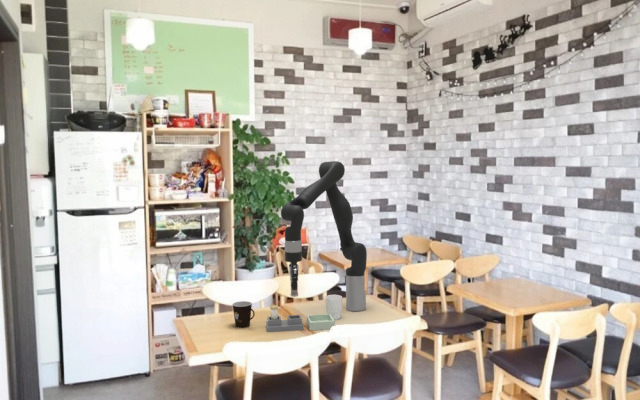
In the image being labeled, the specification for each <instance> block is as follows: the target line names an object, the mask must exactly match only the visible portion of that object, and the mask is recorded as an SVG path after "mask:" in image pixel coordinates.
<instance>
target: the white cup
mask: <svg viewBox="0 0 640 400" xmlns="http://www.w3.org/2000/svg"><path fill="white" fill-rule="evenodd" d="M324 298H325V301H324V302H325V312H326V314H331V316H332V317H333V319H334V321H336V320H339V319H341V318H342V310H343V309H342V308H343V296H342V295H339V294H329V295H326V296H324Z"/></svg>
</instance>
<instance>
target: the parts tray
mask: <svg viewBox="0 0 640 400" xmlns="http://www.w3.org/2000/svg"><path fill="white" fill-rule="evenodd" d="M335 323H336V320H334V319H333V317H332V316H331V314H327V313H320V314H307V315H306V325H307V327H308V329H309V331H324V330H325V331H326V330H327V331H328V330H331V329H330V328H331V327H332V326H334V325H335ZM335 326H336V325H335ZM321 329H322V330H321Z"/></svg>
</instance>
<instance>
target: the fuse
mask: <svg viewBox="0 0 640 400" xmlns="http://www.w3.org/2000/svg"><path fill="white" fill-rule="evenodd" d="M269 308H270V317H271V320H278V316H279V313H278V309H279V306H278V305H277V304H271V305H270V306H269Z"/></svg>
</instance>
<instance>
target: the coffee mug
mask: <svg viewBox="0 0 640 400" xmlns="http://www.w3.org/2000/svg"><path fill="white" fill-rule="evenodd" d="M252 306H253V303H252V302H251V301H245V300H244V301H243V300H241V301H236V302H235V301H234V302H233V303H232V311H233V318H234V324H235V328H238V327H239V328H238V329H246V328H249V327H250V326H251V320H252V319H254V317H255V316H256V313H255V310H254V309H253V308H252ZM251 316H252V317H251ZM245 327H246V328H245Z"/></svg>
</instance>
